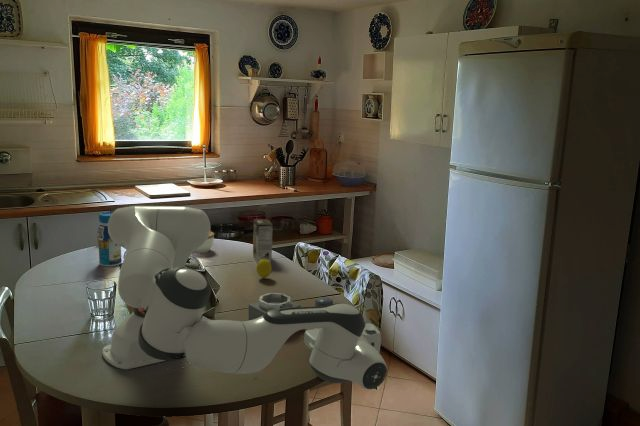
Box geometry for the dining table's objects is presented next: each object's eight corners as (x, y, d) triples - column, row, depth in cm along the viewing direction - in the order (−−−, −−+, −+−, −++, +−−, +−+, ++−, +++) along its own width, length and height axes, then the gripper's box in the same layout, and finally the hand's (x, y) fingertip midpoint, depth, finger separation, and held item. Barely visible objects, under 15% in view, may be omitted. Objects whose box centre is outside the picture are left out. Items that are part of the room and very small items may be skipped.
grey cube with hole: (269, 334, 162) (269, 308, 160) (248, 322, 169) (248, 298, 167) (299, 323, 170) (300, 299, 168) (278, 313, 177) (279, 289, 175)
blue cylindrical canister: (100, 260, 219) (97, 211, 215) (122, 259, 221) (121, 211, 217) (97, 267, 211) (95, 216, 207) (121, 266, 214) (119, 216, 209)
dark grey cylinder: (322, 338, 161) (324, 305, 159) (309, 332, 165) (311, 299, 162) (335, 333, 165) (336, 300, 162) (322, 327, 168) (324, 295, 166)
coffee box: (252, 256, 234) (252, 218, 230) (267, 255, 236) (268, 218, 232) (256, 263, 225) (257, 224, 221) (271, 262, 227) (273, 223, 223)
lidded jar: (196, 256, 230) (196, 234, 228) (183, 249, 238) (183, 228, 236) (218, 252, 237) (218, 230, 235) (206, 246, 245) (206, 225, 243)
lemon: (257, 281, 204) (258, 260, 202) (255, 276, 209) (255, 256, 208) (272, 280, 206) (273, 260, 204) (269, 275, 211) (270, 255, 209)
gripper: (312, 362, 142) (296, 339, 155) (384, 353, 149) (364, 331, 162) (313, 339, 141) (297, 318, 154) (386, 331, 148) (365, 311, 160)
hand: (332, 325), depth 158 cm, fingers open, 8 cm apart
